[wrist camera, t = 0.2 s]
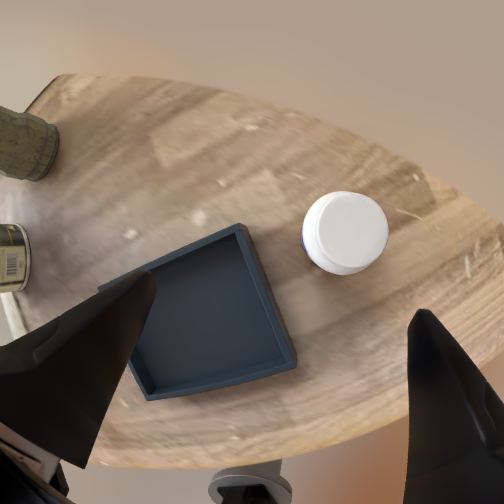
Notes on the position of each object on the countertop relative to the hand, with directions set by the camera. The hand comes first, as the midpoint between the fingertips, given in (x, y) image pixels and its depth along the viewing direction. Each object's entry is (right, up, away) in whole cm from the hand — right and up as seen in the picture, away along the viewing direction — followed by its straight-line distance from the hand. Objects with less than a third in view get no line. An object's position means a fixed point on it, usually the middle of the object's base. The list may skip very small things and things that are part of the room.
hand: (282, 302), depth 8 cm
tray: (-6, -5, +16) cm, 18 cm away
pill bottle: (+6, +3, +14) cm, 15 cm away
